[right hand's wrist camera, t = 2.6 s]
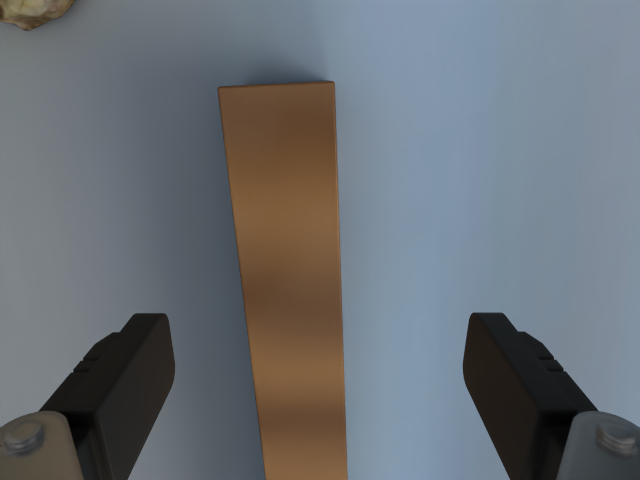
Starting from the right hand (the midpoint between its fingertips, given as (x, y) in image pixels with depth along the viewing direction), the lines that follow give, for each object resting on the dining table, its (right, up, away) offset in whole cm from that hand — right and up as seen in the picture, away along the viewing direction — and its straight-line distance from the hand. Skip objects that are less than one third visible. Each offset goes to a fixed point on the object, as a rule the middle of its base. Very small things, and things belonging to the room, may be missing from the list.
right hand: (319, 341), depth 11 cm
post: (0, -25, +24) cm, 35 cm away
